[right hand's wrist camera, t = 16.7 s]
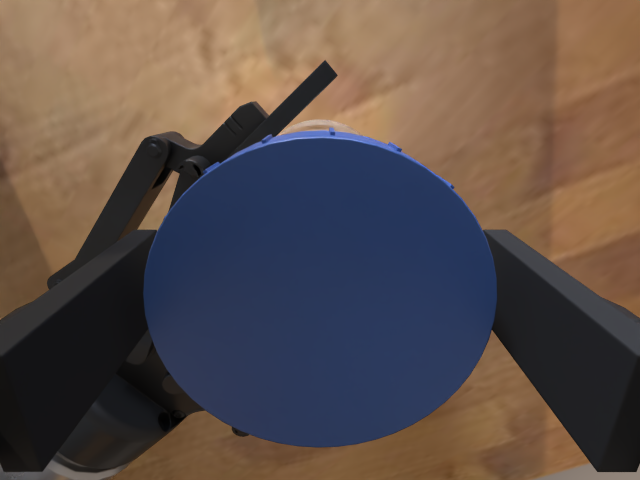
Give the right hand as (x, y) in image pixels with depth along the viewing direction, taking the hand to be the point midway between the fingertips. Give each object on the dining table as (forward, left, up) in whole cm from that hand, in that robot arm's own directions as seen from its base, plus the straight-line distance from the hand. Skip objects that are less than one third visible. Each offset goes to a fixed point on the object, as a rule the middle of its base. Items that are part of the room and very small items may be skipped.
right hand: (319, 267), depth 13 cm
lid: (0, 0, +3) cm, 3 cm away
